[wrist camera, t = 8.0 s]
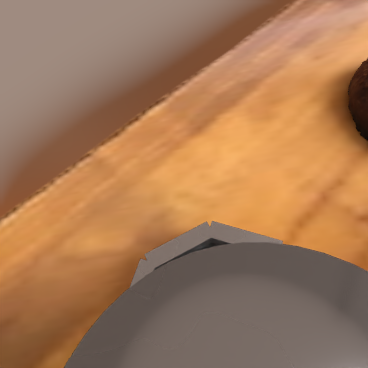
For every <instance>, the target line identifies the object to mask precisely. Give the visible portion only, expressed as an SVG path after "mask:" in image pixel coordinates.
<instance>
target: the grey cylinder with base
mask: <svg viewBox="0 0 368 368" xmlns="http://www.w3.org/2000/svg"><path fill="white" fill-rule="evenodd" d="M64 368H368V271H366V270H364V269H362V268H360V267H358V266H356V265H354V264H352V263H349V262H346V261H344V260H341V259H338V258H336V257H333V256H331V255H328V254H325V253H322V252H318V251H314V250H310V249H306V248H302V247H298V246H293V245H285V244H277V243H270V242H241V243H234V244H226V245H218V246H214V247H210V248H206V249H203V250H199V251H195V252H192V253H190V254H187V255H185V256H182V257H180V258H177V259H175V260H173V261H170V262H168V263H167V264H165V265H163V266H161V267H160V268H158V269H156V270H154V271H153V272H151V273H149V274H147V275H146V276H145V277H143V278H142V279H141V280H139V281H138V282H137V283H135V284H134V285H133V286H131V287H130V288H129V289H127V290H126V291H125V292H124V293H123V294H122V295H121V296H120V297H119V298H118V299H117V300H116V301H115V302H113V303H112V304H111V305H110V306H109V307H108V308H107V309H106V310H105V311H104V312H103V314H102V315H101V316H100V317H99V318H98V320H97V321H96V322H95V323H94V325H93V326H92V327H91V328H90V329H89V331H88V332H87V333H86V334H85V335H84V337H83V339H82V340H81V342H80V343H79V345H78V346H77V348H76V349H75V351H74V352H73V354H72V355H71V357H70V358H69V360H68V361H67V363H66V365H65V367H64Z"/></svg>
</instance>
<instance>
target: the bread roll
mask: <svg viewBox="0 0 368 368" xmlns="http://www.w3.org/2000/svg"><path fill="white" fill-rule="evenodd" d="M348 95H349V110H350V112H351V114H352V116H353V120H354V122H355V123H356V129H357V130H358V131H359V132H360V135H361V136H363V137H364V138H365V139H367V140H368V59H367V60H366V61H364V62H362V64H361V66H360V67H359V68H358V70H357V71H356V72H355V74H354V76H353V78H352V80H351V82H350V85H349V89H348Z"/></svg>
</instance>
